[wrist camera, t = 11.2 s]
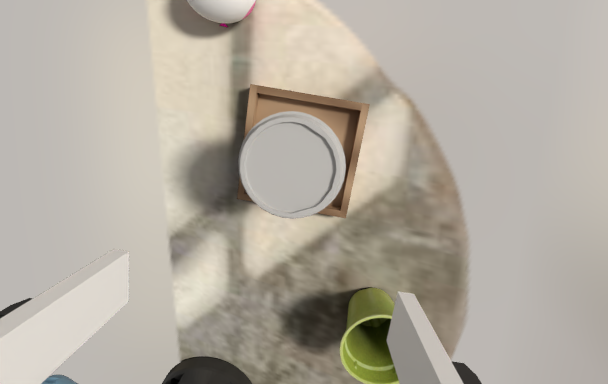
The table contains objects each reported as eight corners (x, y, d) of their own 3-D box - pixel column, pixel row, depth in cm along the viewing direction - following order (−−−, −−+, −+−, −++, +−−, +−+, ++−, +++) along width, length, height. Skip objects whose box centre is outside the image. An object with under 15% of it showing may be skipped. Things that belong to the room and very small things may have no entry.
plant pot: (354, 264, 41) (362, 302, 33) (417, 292, 42) (441, 336, 33) (325, 318, 44) (326, 367, 35) (385, 344, 44) (399, 398, 36)
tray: (344, 212, 40) (345, 218, 37) (241, 194, 40) (237, 198, 38) (366, 105, 36) (369, 104, 34) (254, 86, 37) (250, 84, 34)
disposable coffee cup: (255, 181, 39) (226, 209, 27) (270, 104, 36) (244, 99, 25) (329, 198, 38) (331, 234, 27) (348, 122, 36) (360, 125, 24)
